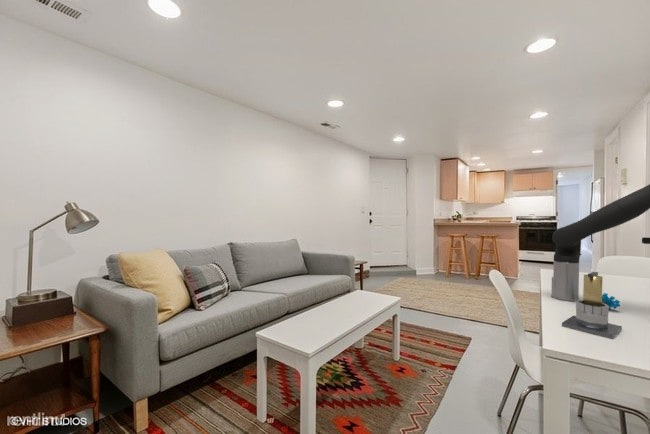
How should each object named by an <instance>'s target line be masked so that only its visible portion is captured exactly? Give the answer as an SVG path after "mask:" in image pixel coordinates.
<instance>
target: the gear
mask: <svg viewBox="0 0 650 434" xmlns="http://www.w3.org/2000/svg"><path fill="white" fill-rule="evenodd" d="M608 295H609V294H608V293H606V292H602V303H604V304H607V305H608V306H609V309H612V308H613V309H617V308H618V307H620V306H621V303H620V300H619V299H616V297H615V296H612V295H611V296H610V297H609V296H608Z"/></svg>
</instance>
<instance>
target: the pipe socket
mask: <svg viewBox="0 0 650 434" xmlns="http://www.w3.org/2000/svg"><path fill="white" fill-rule="evenodd" d="M609 309H610V308H609V306H608V305H607V304H604V303H602V306H600V307H599V306H591V305H586V304H583V299H579V300H577V301H575V315H572V316H570V317H569V318H567V319H566V320H564V321H563V322H561V327H564V328H566V329H567V328H568V329H571V330H576V331H580V332H582V333H583V332H584V333H588V334H591V335H595V336H599V337H603V338H606V339H611V340H614V339H615V338H616V336H617V335H619V333H620V332H621V331H622V330H623V326H622V325H618V324H613V323H610V322H609V313H610V310H609Z"/></svg>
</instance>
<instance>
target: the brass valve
mask: <svg viewBox="0 0 650 434" xmlns="http://www.w3.org/2000/svg"><path fill="white" fill-rule="evenodd" d="M603 278H604V277H603V276H601V275H599V271H592V272H589V273H587V274H583V290H582V291H583V293H582V294H583V295H582V298H583V299H582V300H583V304H586V305H591V306H599V307H600V306H602V295H603Z"/></svg>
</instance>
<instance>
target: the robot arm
mask: <svg viewBox="0 0 650 434" xmlns="http://www.w3.org/2000/svg"><path fill="white" fill-rule="evenodd" d="M648 210H650V183H649V184H648V185H646V186H644V187H642V188H639V189H638V190H635V191H633V192H631V193H629V194H627V195H625V196H622V197H621V198H618V199H616V200H614V201H613V202H610V203H608V204H606V205H605V206H603V207H600V208H598V209H597V210H595V211H594V212H591V213H590V214H589V215H587V216H585V217H584V218H582V219H580V220H578V221H575V222H573V223H570V224H568V225H565V226H562V227H559V228H557V229H556V230H555V231H554V232H553V233H552V236H551V237H552V238H551V240H552V242H553V243H554V244H555V252H554V255H553V274H552V275H553V276H552V277H551V293H550V294H551V295H550V296H551V298H555V299H558V300H561V301H566V302H567V301H568V302H576V301H577V300H580V299H579V298H580V293H579V290H580V288H579V287H580V257H581V253H582V252H581V250H582V241H583V240H584V239H585V238H586V239H587V238H588V237H590V236H592V235H594V234H597V233H600V232H603V231H607V230H610V229H612V228H615V227H618V226H620V225H624V224H626V223H627V222H630V221H632V220H634V219H636V218H638V217H640V216H641V215H642V214H644V213H646V212H648ZM641 243H642V244H645V245H650V237H646V236H645V237H642V238H641Z"/></svg>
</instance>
